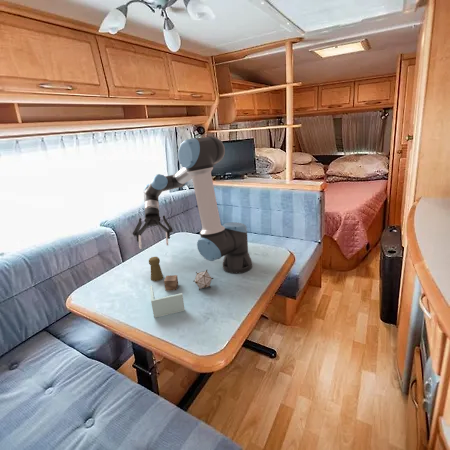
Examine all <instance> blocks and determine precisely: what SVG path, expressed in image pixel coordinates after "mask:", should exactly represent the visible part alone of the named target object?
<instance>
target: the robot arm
mask: <svg viewBox="0 0 450 450" xmlns="http://www.w3.org/2000/svg"><path fill="white" fill-rule="evenodd" d="M225 153H226V149H225V145H224V143H223V141H222V140H221V139H220V138H218V137H216V136H204V137H192V138H188V139H184V140H183V141H182V142H181V143H180V144H179V146H178V151H177V159H178V163H179V164H180V165H181V168H180V169H179V170H178V171H177V172H175V173H173V174H171V175H167V176H165V175H164V174H160V173H158V174H156V175H154V177H153V178H152V179H151V181H150V183H148V184H145V185H144V187H143V197H144V199H143V200H144V218H141V217H139V219H138V223H137V225H136V226H135V228H134V230H133V232H132V235H133V237H136V242H137V243H138V247H139V249H140V250H141V249H142V248H143V247H142V246H143V245H142V235H143V233H144V232H145V231H146V230H147V229H148V228H149V227H157V226H158V227H159V228H161V229H162V230H163V231H165V242H166V243H165V244H166V246H169V239H170V238H171V233H173V232H174V229H173V227H172V226H171V225H170V223H169V222H168V220H167V218H166V215H162V216H161V215H160V204H159V203H160V201H159V197H160V195H161V194H162V192H166V191H169V190H174V189H178V188H179V189H180V188H184V187H185V186H187V185H188V183H189V181H190V180H191V181H192V184H193V190H194V194H195V195H194V196H195V198H196V204H197V209H198V214H199V219H200V223H201V230H200V231H199V236H200V238H198V240H197V242H196V247H197V248H196V249H197V251H198V252H199V255H201V257H202V258H203V259H205V260H206V261H208V262H209V261H210V262H214V261H217V260H219V259H221V258H223V260H222V270H224V272H226V273H230V274H243V273H247V272H248V271H251V270H252V268H253V261H252V258H251V256H250V253H249V245H248V244H249V243H248V229H247V228H248V227H247V225H246V224H245V223H242V222H235V221H234V222H226V223H223V224H222V223H221V218H220V214H219V208H218V203H217V198H216V193H215V186H214V182H213V177H212V171H213V169H214V166H215V165H216V164H218V163H220V162H222V160H223V159H224V156H225ZM161 221H162V222H163V223H164V224H165V225H166V226H165V225H164V224H163V223H161ZM142 224H143V225H142Z"/></svg>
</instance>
